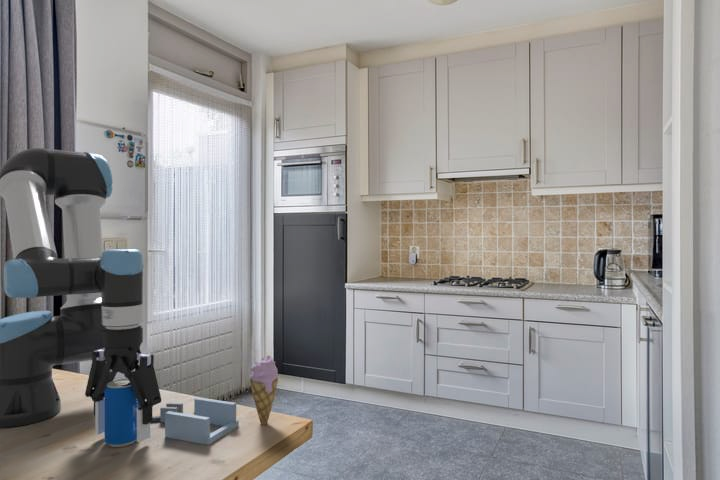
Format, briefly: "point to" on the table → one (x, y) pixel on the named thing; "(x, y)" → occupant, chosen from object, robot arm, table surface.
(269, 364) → the ice cream cone
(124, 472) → the table surface
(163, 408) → the clip
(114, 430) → the beverage can
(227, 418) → the end holder
